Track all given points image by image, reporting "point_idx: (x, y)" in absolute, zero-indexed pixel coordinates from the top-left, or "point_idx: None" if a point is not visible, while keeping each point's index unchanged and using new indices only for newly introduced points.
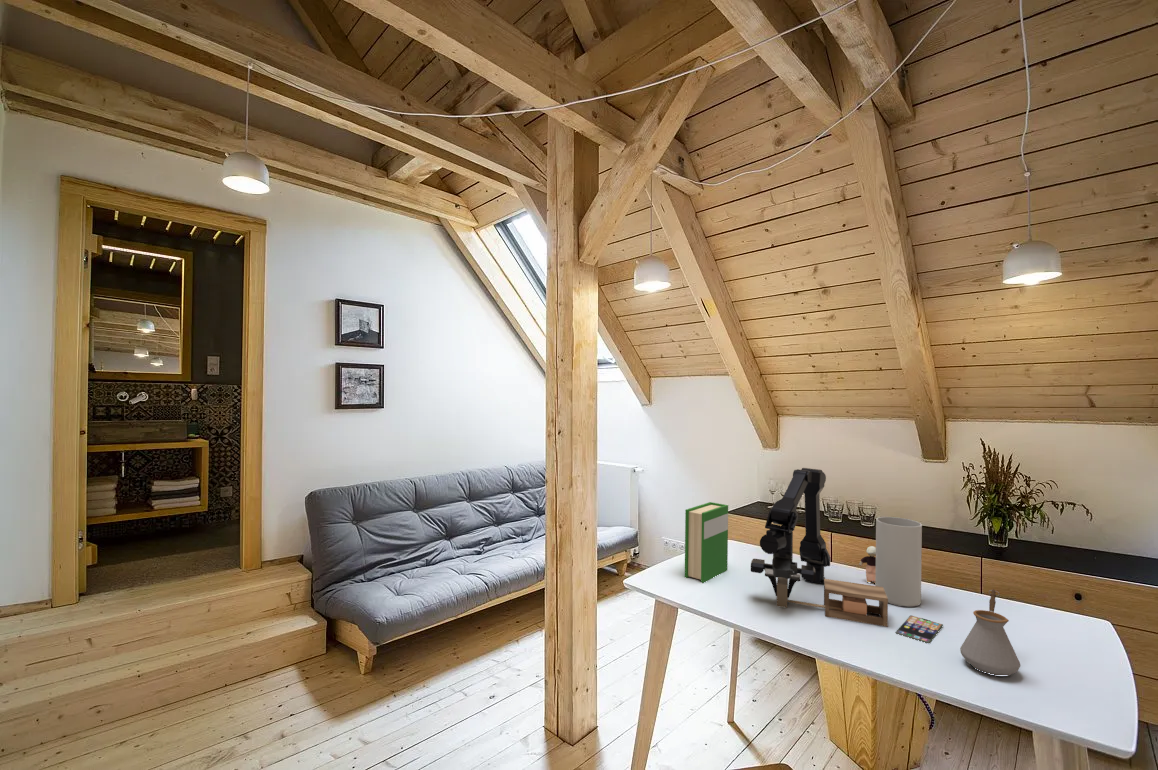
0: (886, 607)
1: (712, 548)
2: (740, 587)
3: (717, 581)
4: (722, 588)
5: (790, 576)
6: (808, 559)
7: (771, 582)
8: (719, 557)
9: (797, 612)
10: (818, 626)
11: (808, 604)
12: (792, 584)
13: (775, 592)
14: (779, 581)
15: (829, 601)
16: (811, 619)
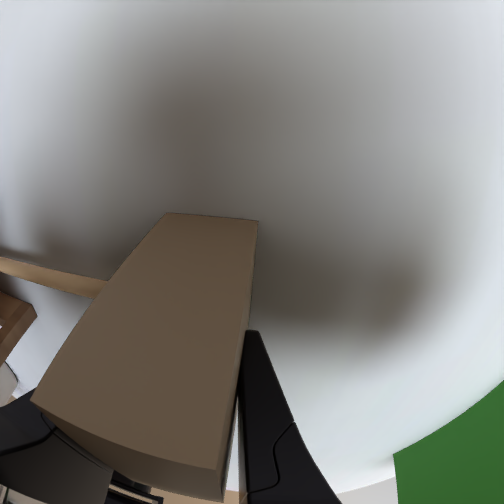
0: None
1: (495, 493)
2: (419, 395)
3: (472, 396)
4: (496, 356)
5: (31, 496)
6: (142, 496)
7: (313, 465)
8: (444, 480)
9: (89, 148)
10: (15, 14)
11: (43, 271)
12: (28, 405)
13: (259, 355)
14: (184, 482)
15: (6, 314)
16: (24, 80)
